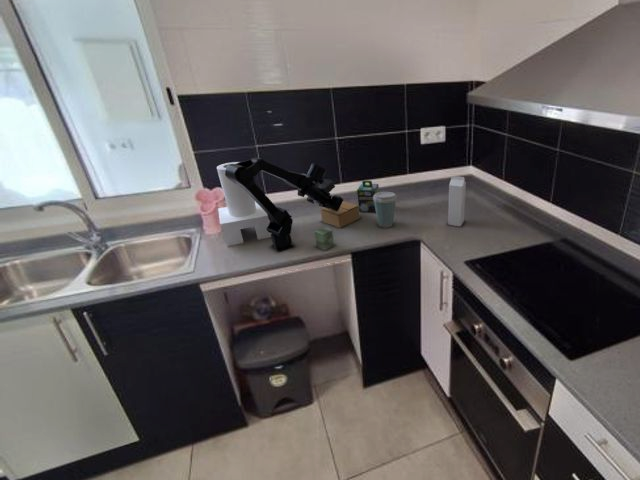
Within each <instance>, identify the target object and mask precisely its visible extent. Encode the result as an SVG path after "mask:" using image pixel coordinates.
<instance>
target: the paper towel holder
mask: <svg viewBox="0 0 640 480" xmlns="http://www.w3.org/2000/svg"><path fill="white" fill-rule="evenodd" d="M239 162H240V161H232V162H226V163H222V164H219V165H217V166H216V171H217V175H218V177H219V178H218V179H219V182H220V185H221V190H222V193H223V196H224V201H225V204H226V206H225V207H219V208H217V210H218V211H217V212H218V218H219V225H220V229H221V232H222V235H223V239H224V242H225V246H226V247H230V246H234V245H239V244H244V239H243V234H242V231H241V230H245V229H249V228H254V231H255V233H256V234H255V235H256V238H257V240H259V241H260V240H265V239H269V238H271V234H272V233H269V232H268V231H267V229H266V228H267V226H268V224H269V223H270V221H269V219H268V215H267V213H266V212H265V211H264V210H263V209H262V208H261V207H260V206H259V205H258V204H257V203H256V202H255V201H254V199H253V198H252V197H251V196H250V195H249V194H248V193H247V192H246V191H245V190H244V189H243V188H241V187H240V186H238V185H236V184H235V183H233V182H232V181H231V180H229V179H228V178H227V177H226V175H225V170H226V168H227V166H228V165H230V164H237V163H239Z"/></svg>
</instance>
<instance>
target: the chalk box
mask: <svg viewBox="0 0 640 480" xmlns="http://www.w3.org/2000/svg"><path fill="white" fill-rule="evenodd" d="M379 192H380V185H379V183H373V182H372V180H362V182H361V184H360V185H359V186H358V188H357V190H356V196H357V203H358V204H357V205H358V207H359V213H360V212H362V213H363V212H364V213H365V212H368V213H376V210H375V205H374V200H373V196H374V195H375V194H376V193H379Z"/></svg>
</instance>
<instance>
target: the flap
mask: <svg viewBox="0 0 640 480" xmlns="http://www.w3.org/2000/svg"><path fill="white" fill-rule="evenodd" d="M320 210H325V211H328V212H331V213H334V214H337V215H339V214H342V213H345V212H347V211H349V210H346V209H343V208H339V210H338V211H334V210H331V209H327V208H325V207H321V208H320Z"/></svg>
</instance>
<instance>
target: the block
mask: <svg viewBox="0 0 640 480" xmlns="http://www.w3.org/2000/svg"><path fill="white" fill-rule="evenodd" d="M314 238H315V243H316V244H315V245H316V248H319V249H321V250H324V251H326V250H328V249H330V248H333V247H334V246H335V239H334V232H333V229H330V228H328V227H325V226H324V227H321V228H319V229H317V230H314Z"/></svg>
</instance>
